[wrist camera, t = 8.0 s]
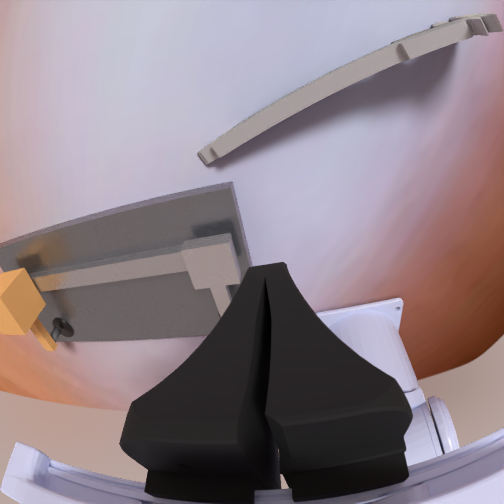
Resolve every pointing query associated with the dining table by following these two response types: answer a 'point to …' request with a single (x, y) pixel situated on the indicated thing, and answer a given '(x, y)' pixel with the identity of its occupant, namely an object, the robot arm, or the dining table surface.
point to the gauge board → (138, 267)
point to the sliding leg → (23, 308)
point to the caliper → (352, 77)
